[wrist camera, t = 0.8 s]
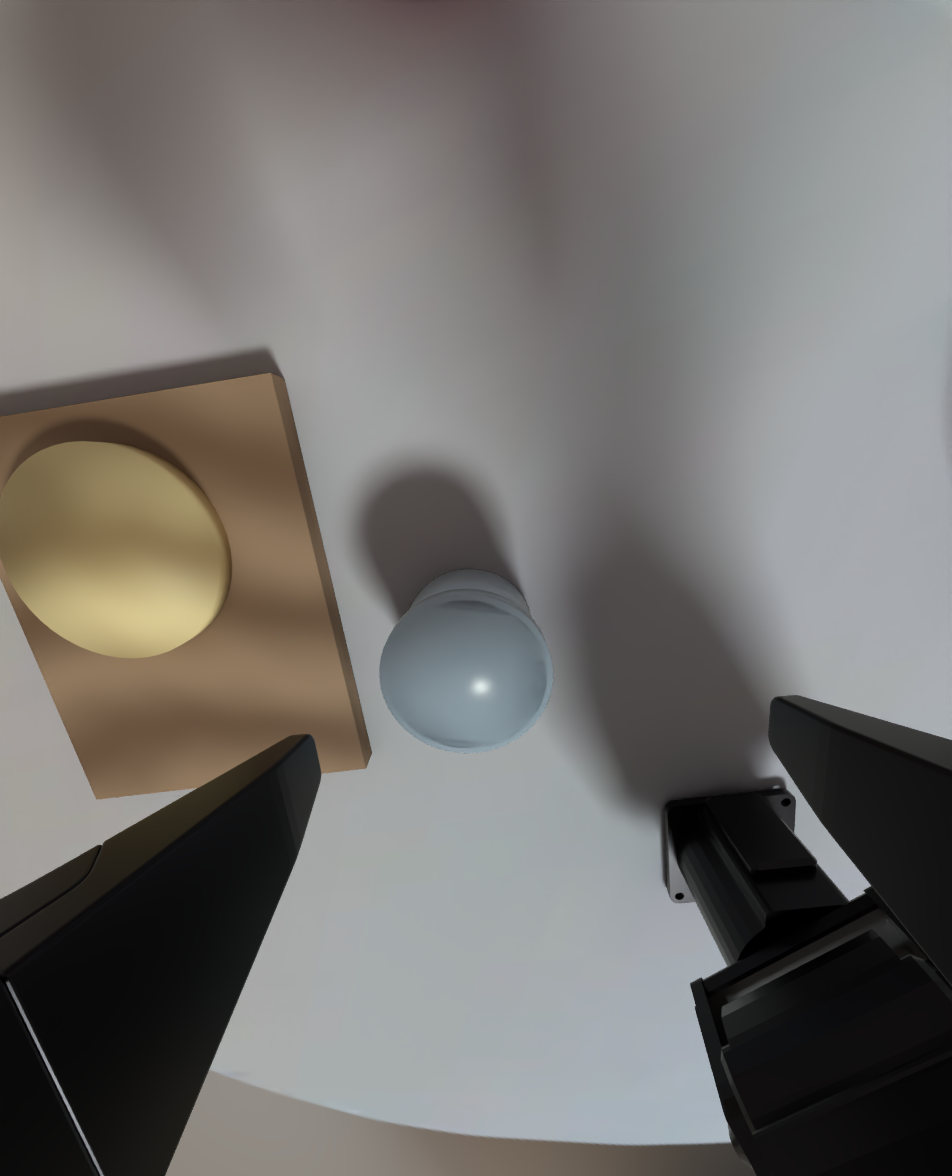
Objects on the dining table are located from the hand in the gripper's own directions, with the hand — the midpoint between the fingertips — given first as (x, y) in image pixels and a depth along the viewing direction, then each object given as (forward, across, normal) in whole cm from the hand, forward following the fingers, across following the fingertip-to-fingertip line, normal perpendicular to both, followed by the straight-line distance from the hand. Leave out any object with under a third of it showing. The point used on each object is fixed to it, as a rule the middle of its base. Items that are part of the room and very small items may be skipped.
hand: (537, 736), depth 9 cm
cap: (+12, +2, +2) cm, 13 cm away
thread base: (+12, +15, 0) cm, 19 cm away
